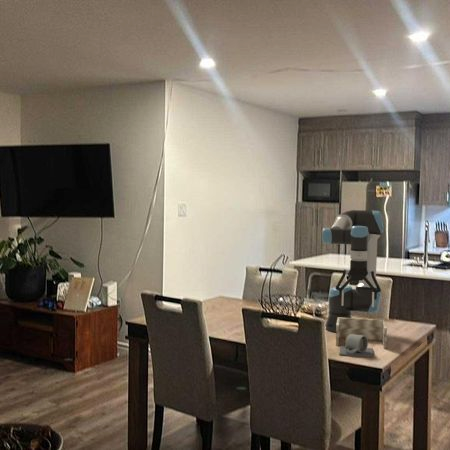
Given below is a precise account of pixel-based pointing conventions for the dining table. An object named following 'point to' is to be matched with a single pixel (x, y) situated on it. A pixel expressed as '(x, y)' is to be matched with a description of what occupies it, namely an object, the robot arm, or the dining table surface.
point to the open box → (361, 329)
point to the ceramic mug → (356, 343)
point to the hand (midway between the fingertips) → (357, 305)
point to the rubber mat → (357, 353)
